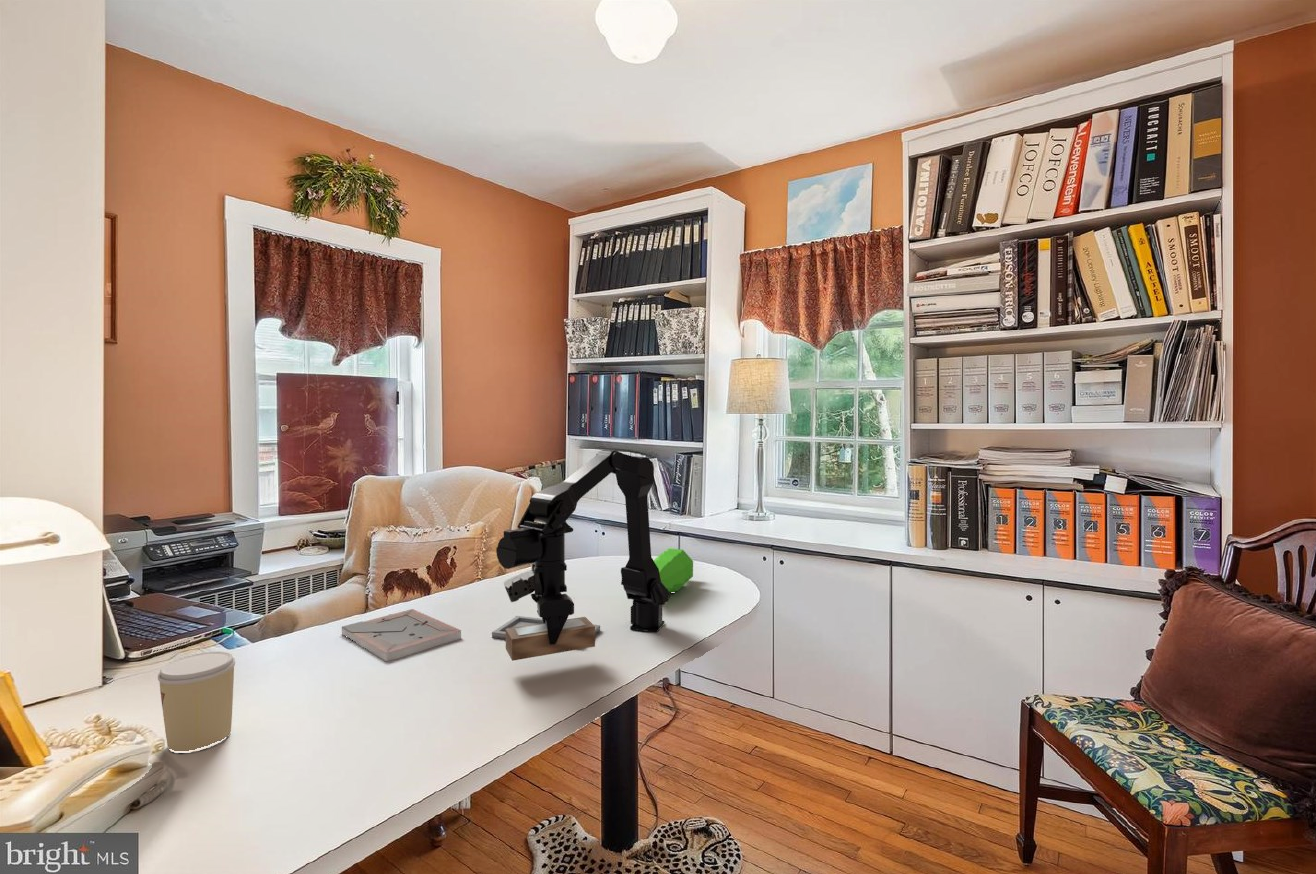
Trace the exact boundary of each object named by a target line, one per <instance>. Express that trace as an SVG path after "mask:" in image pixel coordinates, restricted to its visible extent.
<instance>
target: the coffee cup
mask: <svg viewBox="0 0 1316 874" xmlns="http://www.w3.org/2000/svg"><path fill="white" fill-rule="evenodd" d="M235 665H236V659H235V657H234V656H233V654H232V653H230V652H228V651H221V650H220V651H216V650H215V651H203V652H198V653H194V654H190V655H185V656H182V657H179V658H177V659H176V658H175V659H174V660H172V661H170V662H168V663H166V664H164V665H163V666H162V667H161V669H160V671H159V672H158V674H157V680H158V682H159V691H160V693H159V694H160V701H161V709H162V717H163V723H164V730H165V731H164V732H165V738H166V745H167V748H168V747H169V749H172V750H174V751H189V750H195V749H197V748H201V747H204V746H208V745H210V744H212V743H215V742H217V741H221V740H222V739H224V738H225V737H227V736H228V735H229V734H230V735H231V733H230V732H232V722H233V720H232V719H233V705H234V704H233V702H234V679H235V675H234V674H235Z"/></svg>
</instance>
